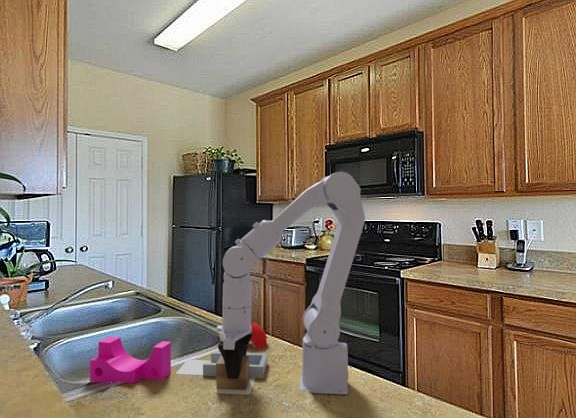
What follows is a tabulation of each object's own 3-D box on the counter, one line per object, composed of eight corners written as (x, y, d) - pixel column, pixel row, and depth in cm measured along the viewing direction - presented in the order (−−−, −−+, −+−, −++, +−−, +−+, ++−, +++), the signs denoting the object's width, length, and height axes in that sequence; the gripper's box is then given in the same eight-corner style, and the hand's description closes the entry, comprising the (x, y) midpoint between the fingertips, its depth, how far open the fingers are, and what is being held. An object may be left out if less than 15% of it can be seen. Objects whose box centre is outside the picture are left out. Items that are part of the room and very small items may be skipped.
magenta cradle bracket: (89, 381, 80) (90, 345, 80) (109, 369, 86) (109, 336, 86) (155, 389, 77) (155, 352, 77) (170, 376, 83) (171, 341, 83)
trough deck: (267, 365, 90) (267, 353, 90) (262, 380, 82) (262, 367, 82) (187, 362, 91) (187, 350, 91) (175, 376, 83) (175, 363, 83)
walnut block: (249, 379, 80) (249, 355, 80) (246, 389, 76) (245, 363, 76) (221, 379, 80) (220, 355, 80) (216, 388, 76) (216, 363, 76)
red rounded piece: (232, 333, 102) (242, 326, 98) (248, 321, 107) (258, 314, 102) (249, 359, 101) (259, 353, 97) (265, 346, 105) (275, 340, 101)
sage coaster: (255, 381, 81) (255, 378, 81) (249, 397, 74) (249, 394, 74) (222, 379, 82) (222, 377, 82) (214, 395, 75) (214, 392, 75)
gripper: (225, 297, 85) (224, 358, 85) (207, 314, 71) (206, 388, 71) (257, 298, 85) (256, 359, 85) (245, 315, 71) (244, 390, 70)
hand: (235, 372), depth 78 cm, fingers open, 4 cm apart
